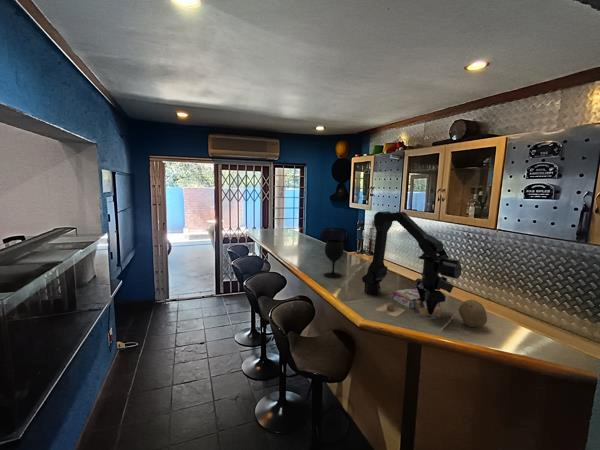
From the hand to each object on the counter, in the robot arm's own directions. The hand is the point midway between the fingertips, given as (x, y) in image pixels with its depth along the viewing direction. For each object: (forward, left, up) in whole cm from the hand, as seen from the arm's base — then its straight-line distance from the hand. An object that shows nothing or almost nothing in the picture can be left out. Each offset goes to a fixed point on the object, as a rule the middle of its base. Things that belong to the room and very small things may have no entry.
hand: (427, 309), depth 117 cm
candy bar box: (-4, +17, 0) cm, 17 cm away
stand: (-12, -8, -2) cm, 14 cm away
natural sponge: (+15, +3, -3) cm, 16 cm away
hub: (0, 0, -2) cm, 2 cm away
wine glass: (-57, +16, -3) cm, 59 cm away
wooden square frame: (0, 0, -1) cm, 1 cm away
